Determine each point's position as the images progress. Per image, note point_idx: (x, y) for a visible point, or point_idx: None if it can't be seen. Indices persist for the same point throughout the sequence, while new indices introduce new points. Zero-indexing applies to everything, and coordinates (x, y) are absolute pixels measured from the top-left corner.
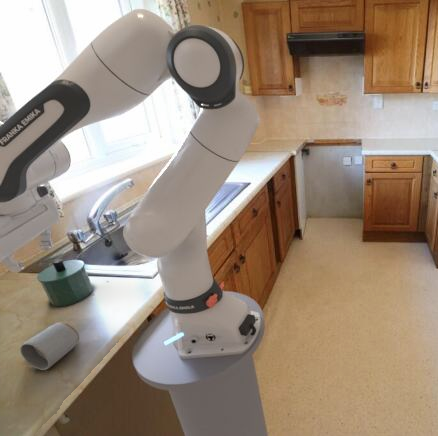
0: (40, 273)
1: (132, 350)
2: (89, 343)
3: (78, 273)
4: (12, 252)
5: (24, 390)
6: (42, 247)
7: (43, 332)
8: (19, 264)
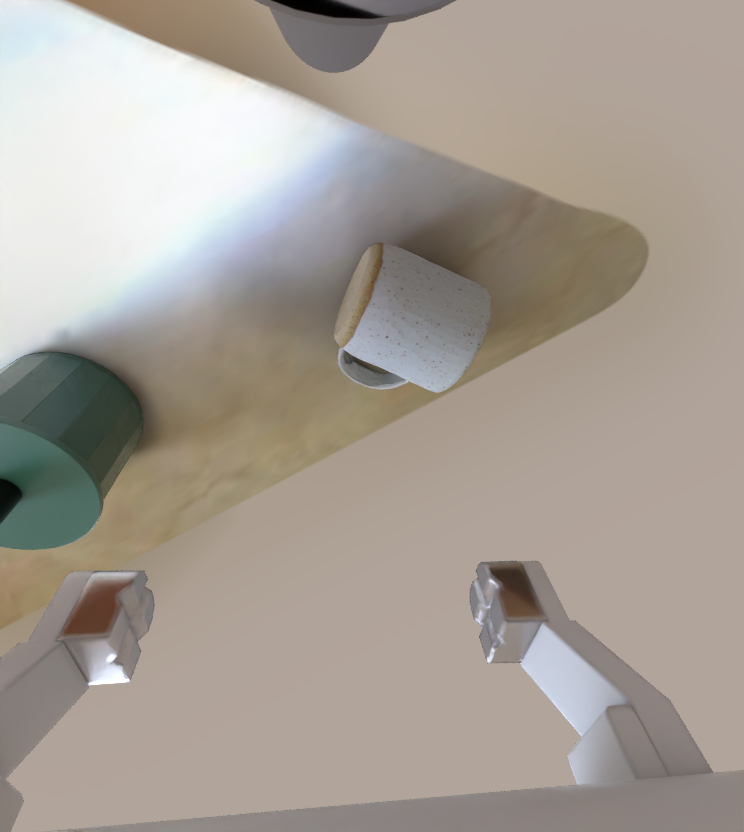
0: (44, 545)
1: (408, 13)
2: (363, 215)
3: (2, 414)
4: (710, 785)
5: (509, 324)
6: (144, 623)
7: (416, 347)
8: (535, 608)
